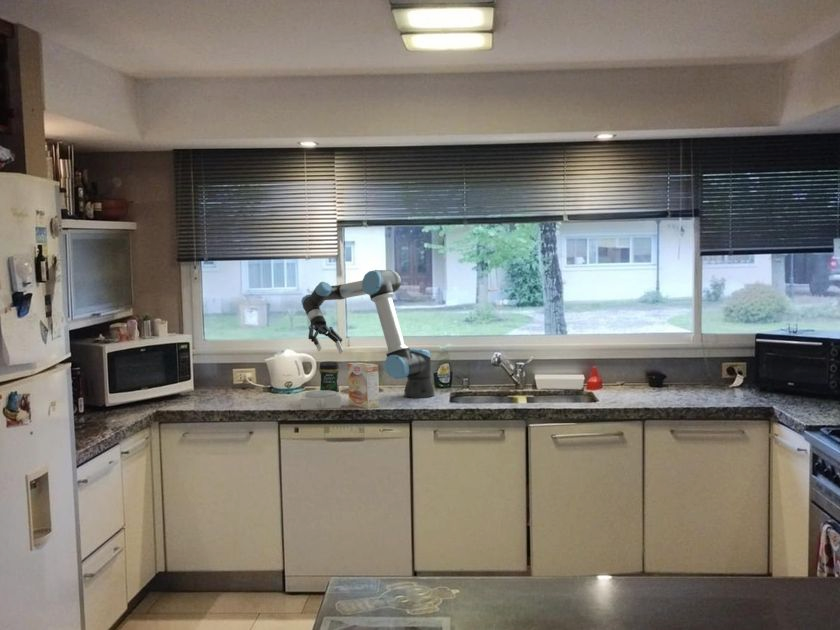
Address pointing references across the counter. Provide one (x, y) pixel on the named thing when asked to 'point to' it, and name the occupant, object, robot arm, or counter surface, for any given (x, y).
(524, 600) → the counter surface
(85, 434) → the counter surface
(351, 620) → the counter surface
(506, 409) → the counter surface
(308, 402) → the clear plastic food container
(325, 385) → the coffee jar
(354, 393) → the coffeecake box
